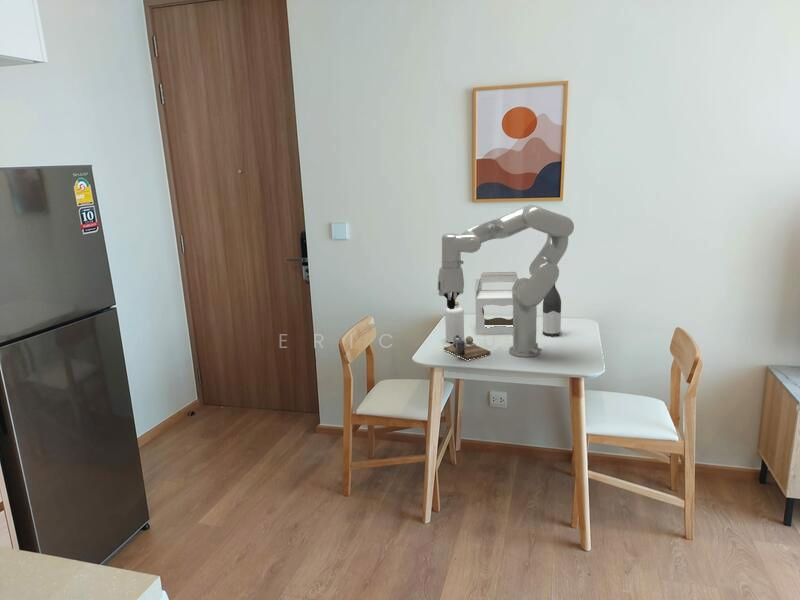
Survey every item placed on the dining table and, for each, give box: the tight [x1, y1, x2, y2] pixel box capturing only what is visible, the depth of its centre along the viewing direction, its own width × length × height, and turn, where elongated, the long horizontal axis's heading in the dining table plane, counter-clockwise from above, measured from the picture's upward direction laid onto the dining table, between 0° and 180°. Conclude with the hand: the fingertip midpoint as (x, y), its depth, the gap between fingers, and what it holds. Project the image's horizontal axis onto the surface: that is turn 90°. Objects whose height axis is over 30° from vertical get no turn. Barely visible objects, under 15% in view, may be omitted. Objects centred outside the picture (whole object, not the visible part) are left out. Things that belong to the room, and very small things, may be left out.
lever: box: [452, 337, 466, 355], centre depth 238 cm, size 15×4×5 cm, turn 1°
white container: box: [444, 301, 465, 343], centre depth 254 cm, size 8×8×18 cm
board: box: [443, 335, 491, 361], centre depth 240 cm, size 16×12×6 cm
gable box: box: [474, 271, 519, 335], centre depth 266 cm, size 22×13×28 cm, turn 83°
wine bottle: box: [542, 283, 562, 338], centre depth 256 cm, size 8×8×30 cm
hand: (451, 308), depth 232 cm, fingers closed
